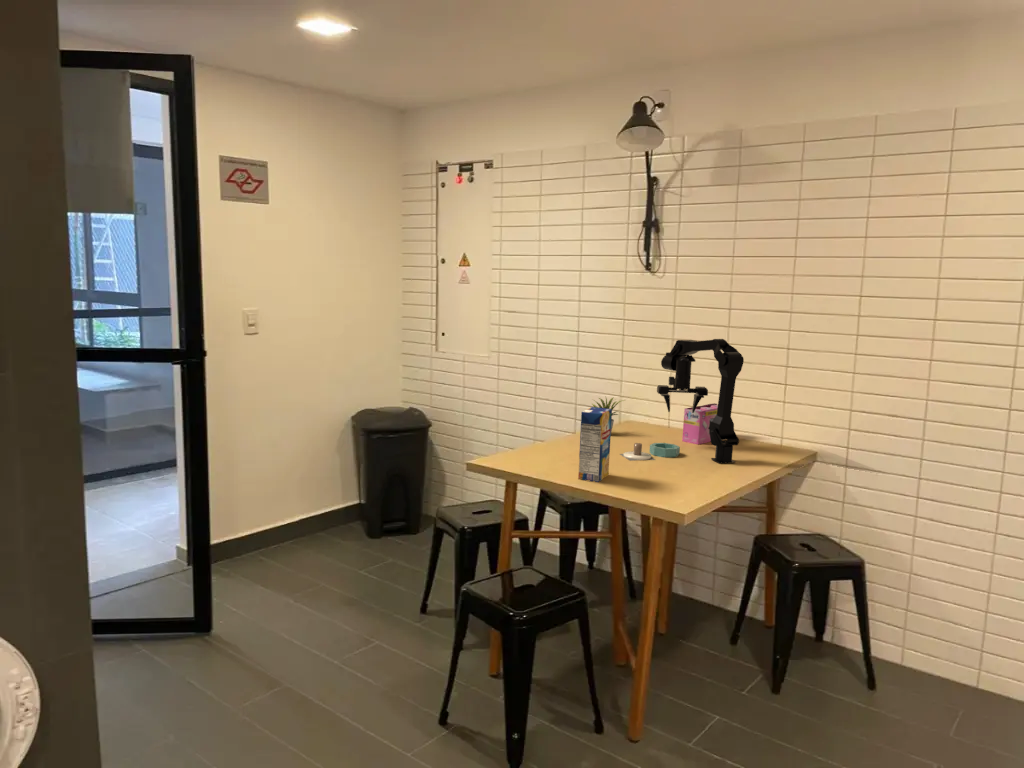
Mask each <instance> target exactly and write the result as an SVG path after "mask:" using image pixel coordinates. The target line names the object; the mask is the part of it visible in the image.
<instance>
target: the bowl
mask: <svg viewBox="0 0 1024 768" xmlns="http://www.w3.org/2000/svg"><path fill="white" fill-rule="evenodd" d="M680 448H681V446H679V445H677V444H674V443H668V442H667V443H666V442H654V443H651V444H650V445H649V454H650V455H651V456H654V457H659V458H677V457H678V456H679V455H680V450H681V449H680Z"/></svg>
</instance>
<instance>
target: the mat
mask: <svg viewBox="0 0 1024 768" xmlns="http://www.w3.org/2000/svg"><path fill="white" fill-rule="evenodd" d="M623 454H624V453H619V455H620V456H621V457H623V458H625V457H624V456H623ZM626 459H627V460H628V461H630V462H631V461H632V462H633V461H637V460H633V459H628V458H625V460H626ZM648 461H656V459H655V458H653V456H651V459H649V460H648Z"/></svg>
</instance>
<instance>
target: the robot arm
mask: <svg viewBox="0 0 1024 768" xmlns="http://www.w3.org/2000/svg"><path fill="white" fill-rule="evenodd" d="M702 351H703V352H705V351H713V357H714V359H715V360H716V362H717V363H718V364H717V365H718V366H717V367H718V371H719V373H720V376H721V379H720V385H719V392H718V399H717V405H718V408H717V415H716V416H715V418H711V419H710V425H709V428H708V429H709V434H710V439H711V442H710V443H711V445H713V446H714V447H715V455H714V457H711V458H710V459H711V460H712V461H714V462H716V463H718V464H736V461H735V460H733V452H734V451H733V450H734V449H733V447H734V446H738V445H739V443H740V439H739V437H738V435H737V433H736V431H735V423H734V421H733V418H732V409H733V403H734V397H735V395H734V394H735V389H736V379H737V377H738V375H739V374H740V373H741V371H742V369H743V366H744V356H743V355H742V353H740V352H739V351H738V349H737V348H735V347H734V346H732V345H731V344H729V343H728V342H727V340H725V339H724V338H713V339H708V340H707V339H706V340H694V339H677V340H676V341H675V344H674V345H673V346H672V348H671V350H670V352H665V355H664V356H663V357H662V359H661V361H660V363H661V364H660V365H661V367H662V369H663V370H667V371H668V370H669V371H673V372H675V377H674V376H668V385H667V384H666V385H665V384H662V385H661V384H659V385H657V387H656V393H657V394H658V395H659V394H660V396H661V397H663V398H664V402H665V404H666V409H667V412H668V413H670V411H671V399H670V398H671V396H670V394H669V393H677V394H678V393H681V394H693V402H692V413H694V411H695V409H696V407H697V406H699V403H700V402H701V400H702V399H703V398H705V396H709V395H708V393H709V390H708V388H707V387H705V386H698V385H697V386H695V387H694V388H691V379H692V378H691V376H692V375H691V374H692V373H691V372H692V363H694V362H695V363H696V359H695V358H694V356H693V355H694V354H698V352H702ZM669 386H672V387H669Z"/></svg>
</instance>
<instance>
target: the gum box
mask: <svg viewBox="0 0 1024 768" xmlns="http://www.w3.org/2000/svg"><path fill="white" fill-rule="evenodd" d="M692 407H693V406H692ZM692 407H686V408H684V412H683V414H684V415H683V426H682V436H681V437H682V442H684V443H689V444H694V445H702V444H706V443H709V442H710V443H711V439H710V434H709V429H708V428H709V425H710V419H711V418H715V416H716V415H717V408H718V403H709V404H708V403H707V404H703V405H697V407H696V409H695V411H694V413H692Z"/></svg>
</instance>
